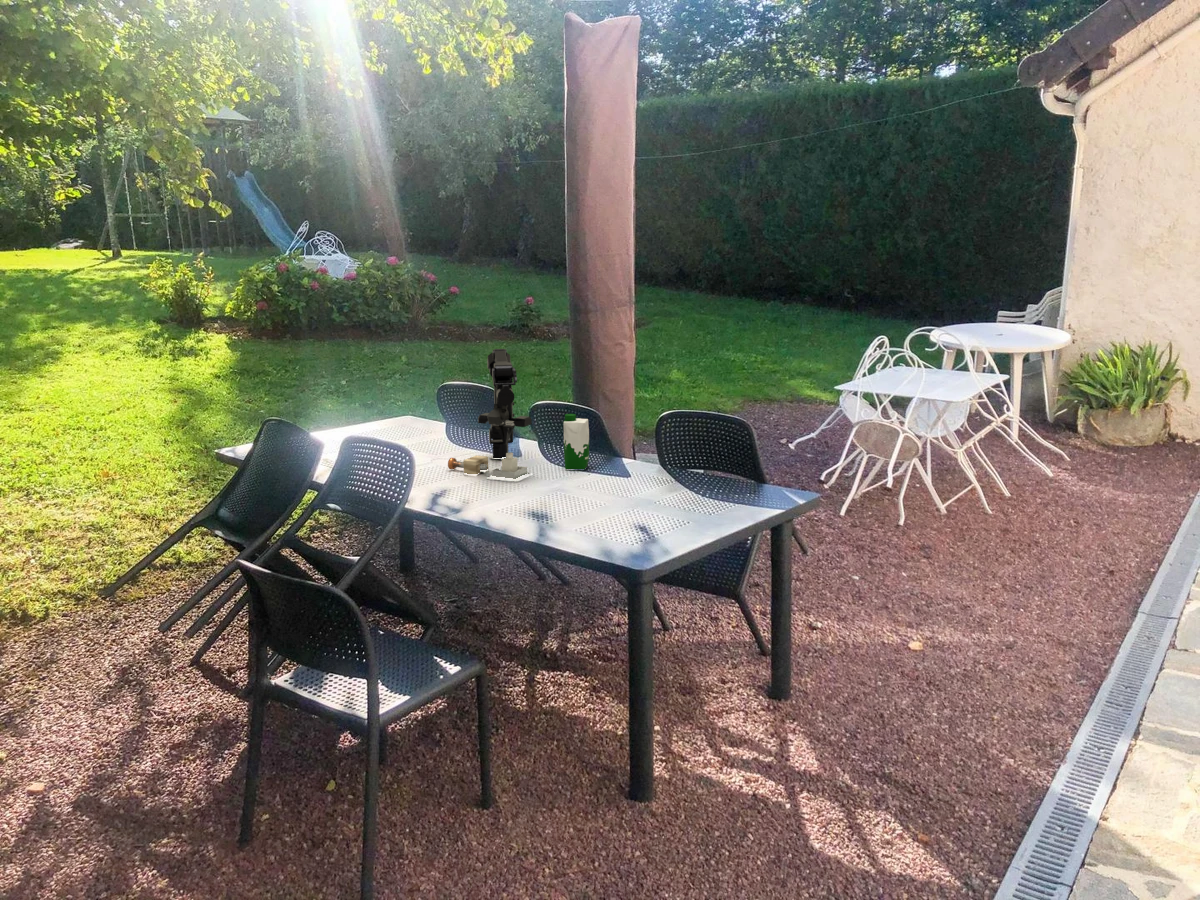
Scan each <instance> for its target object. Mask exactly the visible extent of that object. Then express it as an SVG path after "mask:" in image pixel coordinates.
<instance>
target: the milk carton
mask: <svg viewBox="0 0 1200 900" xmlns="http://www.w3.org/2000/svg"><path fill="white" fill-rule="evenodd" d="M589 458H590V428H589V419H588V418H578V417H577V414H575V413H566V414H564V420H563V461H564V470H565V469H585V468H586V467H587V468H588V466H587V465H589ZM587 468H586V469H587ZM586 469H585V470H586Z"/></svg>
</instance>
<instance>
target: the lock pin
mask: <svg viewBox="0 0 1200 900" xmlns="http://www.w3.org/2000/svg"><path fill="white" fill-rule="evenodd" d="M447 467H448V469H449V470H452V469H454V470H456V468H458V469H459V468H461V469H464V463H463V461H461V460H460V461H458V460H457V459H456V458H455V457H450V458H449V459H448V461H447ZM480 470H487V465H486V464H480Z"/></svg>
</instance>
